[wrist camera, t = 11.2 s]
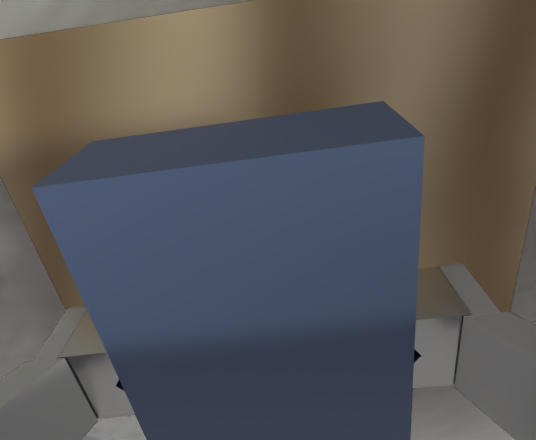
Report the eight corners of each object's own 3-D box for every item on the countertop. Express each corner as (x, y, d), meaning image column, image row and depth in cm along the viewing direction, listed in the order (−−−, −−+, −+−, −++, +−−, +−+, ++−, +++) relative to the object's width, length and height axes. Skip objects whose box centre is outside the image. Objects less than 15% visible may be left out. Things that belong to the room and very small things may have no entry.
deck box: (384, 439, 12) (383, 100, 7) (406, 523, 10) (424, 135, 5) (203, 453, 12) (92, 141, 8) (191, 537, 10) (31, 187, 6)
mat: (571, -49, 10) (583, -51, 9) (496, 342, 16) (501, 350, 15) (-52, 47, 11) (-63, 49, 10) (106, 378, 17) (103, 386, 16)
